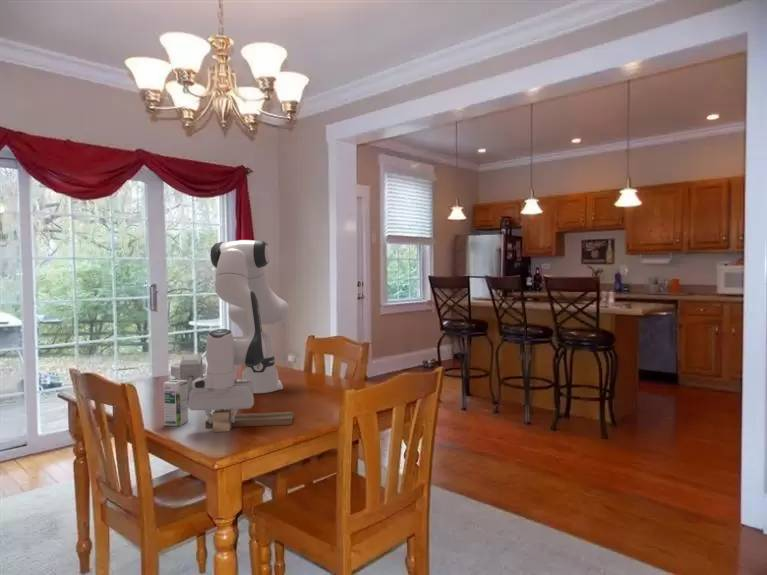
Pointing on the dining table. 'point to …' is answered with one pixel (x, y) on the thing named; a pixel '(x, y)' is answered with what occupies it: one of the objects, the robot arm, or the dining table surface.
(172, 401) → the syrup box
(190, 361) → the hammer
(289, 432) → the dining table surface
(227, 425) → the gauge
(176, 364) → the gray cross block
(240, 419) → the plank
